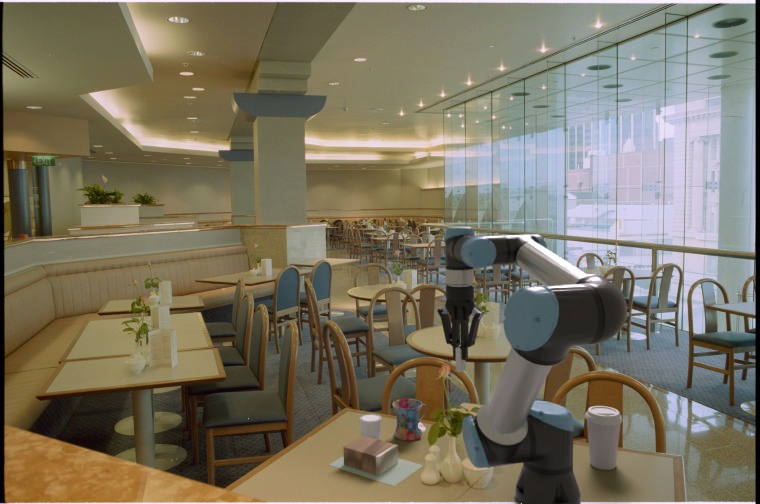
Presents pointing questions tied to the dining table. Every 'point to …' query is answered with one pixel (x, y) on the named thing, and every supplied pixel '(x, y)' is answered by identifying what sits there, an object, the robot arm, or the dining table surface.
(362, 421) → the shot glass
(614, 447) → the coffee cup
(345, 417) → the dining table surface
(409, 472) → the rubber mat
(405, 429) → the mug
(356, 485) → the dining table surface
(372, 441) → the walnut block
